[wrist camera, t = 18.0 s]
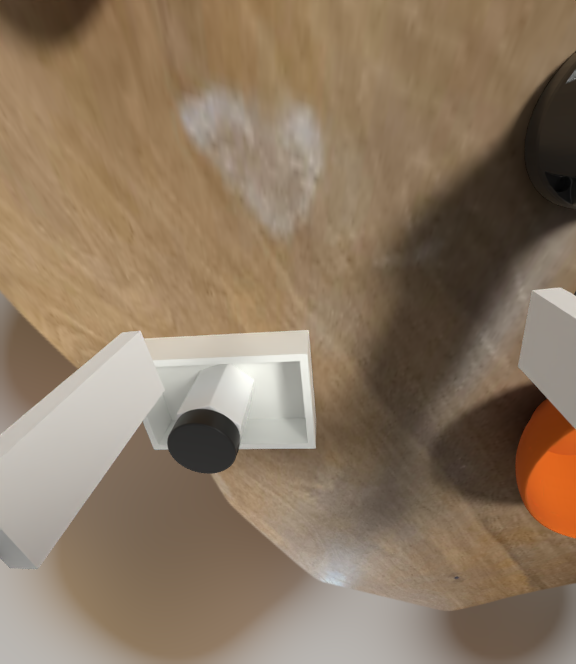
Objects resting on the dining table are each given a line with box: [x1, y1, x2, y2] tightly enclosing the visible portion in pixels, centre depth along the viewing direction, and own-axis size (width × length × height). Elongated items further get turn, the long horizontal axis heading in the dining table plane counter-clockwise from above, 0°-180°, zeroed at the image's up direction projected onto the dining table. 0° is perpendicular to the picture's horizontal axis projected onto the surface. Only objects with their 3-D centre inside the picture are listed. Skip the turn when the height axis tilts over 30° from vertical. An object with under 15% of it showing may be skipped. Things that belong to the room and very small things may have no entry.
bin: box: [143, 330, 316, 450], centre depth 46 cm, size 24×16×6 cm, turn 96°
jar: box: [167, 364, 254, 473], centre depth 43 cm, size 9×8×12 cm
